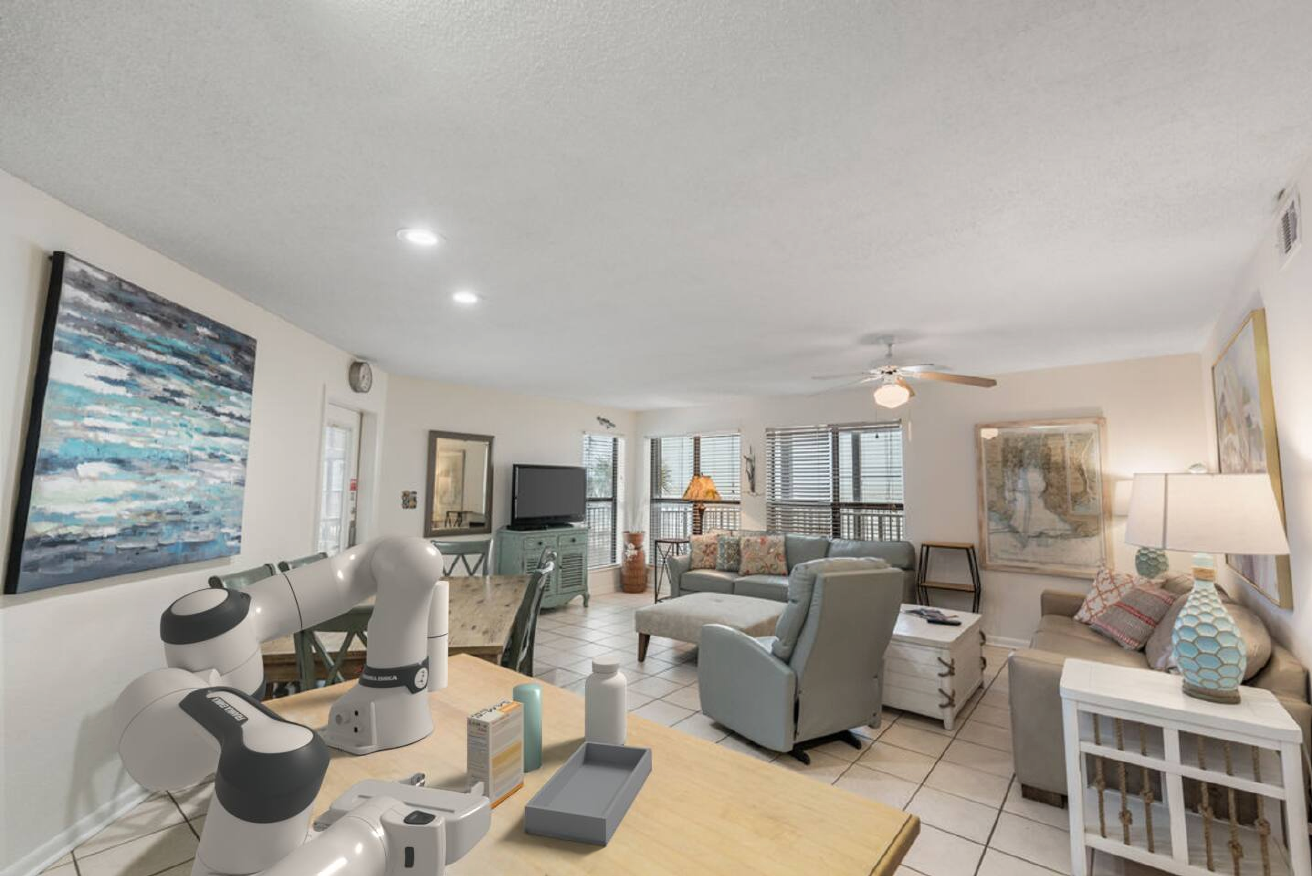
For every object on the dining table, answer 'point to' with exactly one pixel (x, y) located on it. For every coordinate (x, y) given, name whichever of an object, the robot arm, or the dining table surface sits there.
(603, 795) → the tote
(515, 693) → the candle
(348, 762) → the dining table surface
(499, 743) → the supplement box
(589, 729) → the pill bottle
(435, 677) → the cylindrical container
